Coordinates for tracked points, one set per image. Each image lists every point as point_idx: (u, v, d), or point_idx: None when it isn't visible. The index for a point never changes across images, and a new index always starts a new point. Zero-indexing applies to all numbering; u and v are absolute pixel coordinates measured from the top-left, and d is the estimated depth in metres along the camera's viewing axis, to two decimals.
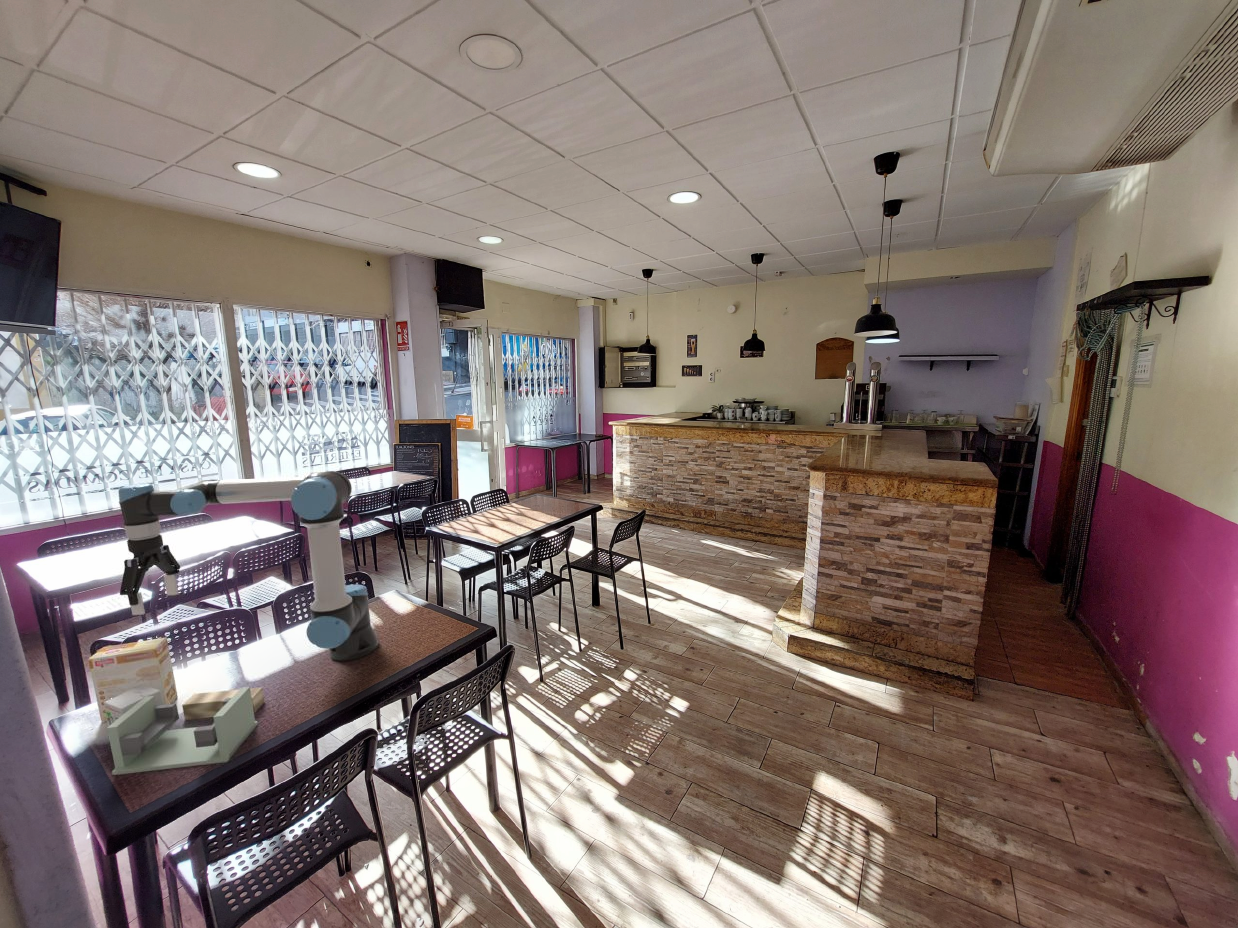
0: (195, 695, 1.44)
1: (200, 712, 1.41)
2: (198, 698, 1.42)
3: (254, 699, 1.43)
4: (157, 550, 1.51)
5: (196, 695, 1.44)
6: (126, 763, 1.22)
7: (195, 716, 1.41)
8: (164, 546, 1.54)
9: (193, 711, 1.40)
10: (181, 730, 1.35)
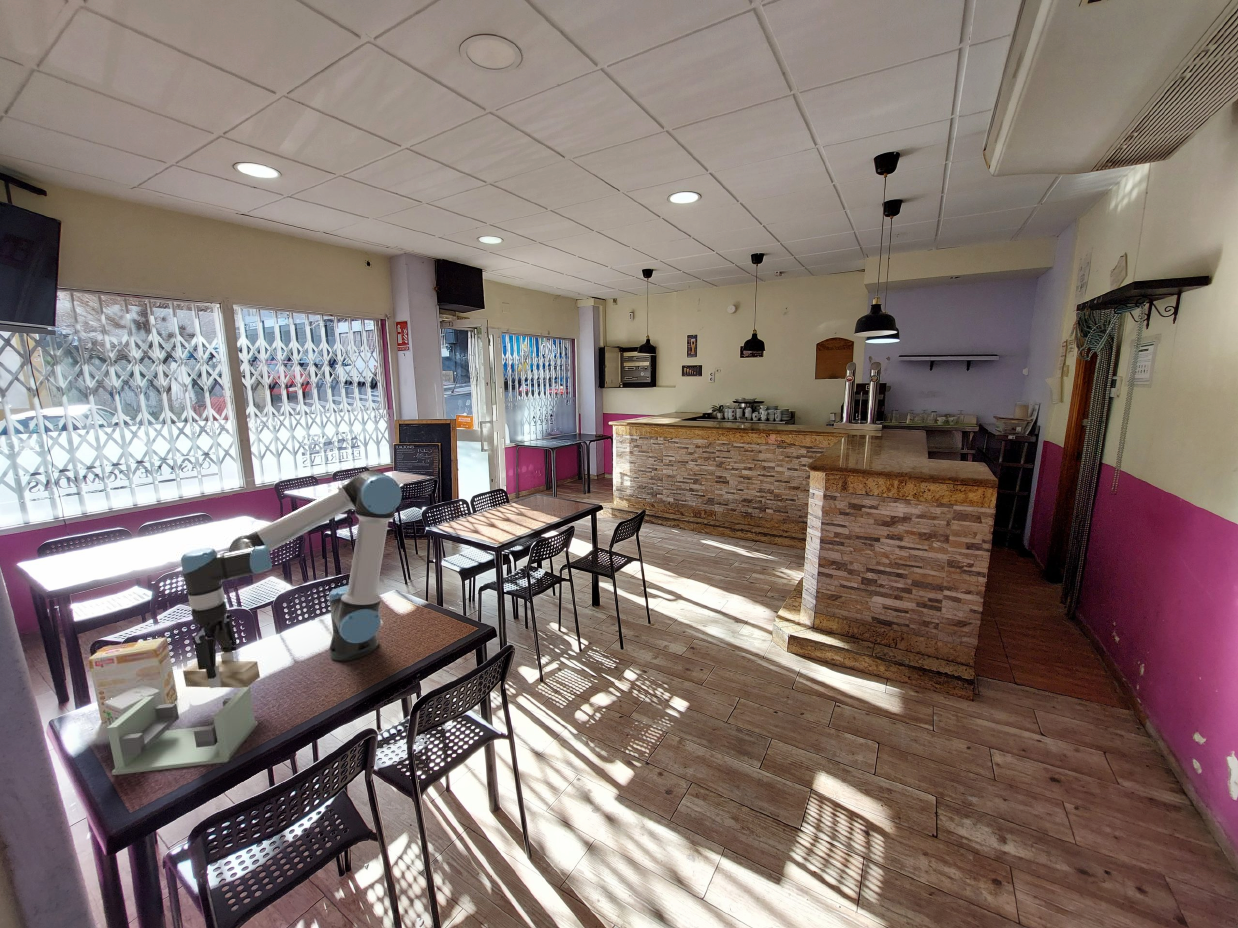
0: None
1: (198, 679, 1.40)
2: None
3: (245, 673, 1.40)
4: None
5: None
6: (126, 763, 1.22)
7: (194, 683, 1.41)
8: (228, 615, 1.45)
9: (192, 678, 1.41)
10: (181, 730, 1.35)
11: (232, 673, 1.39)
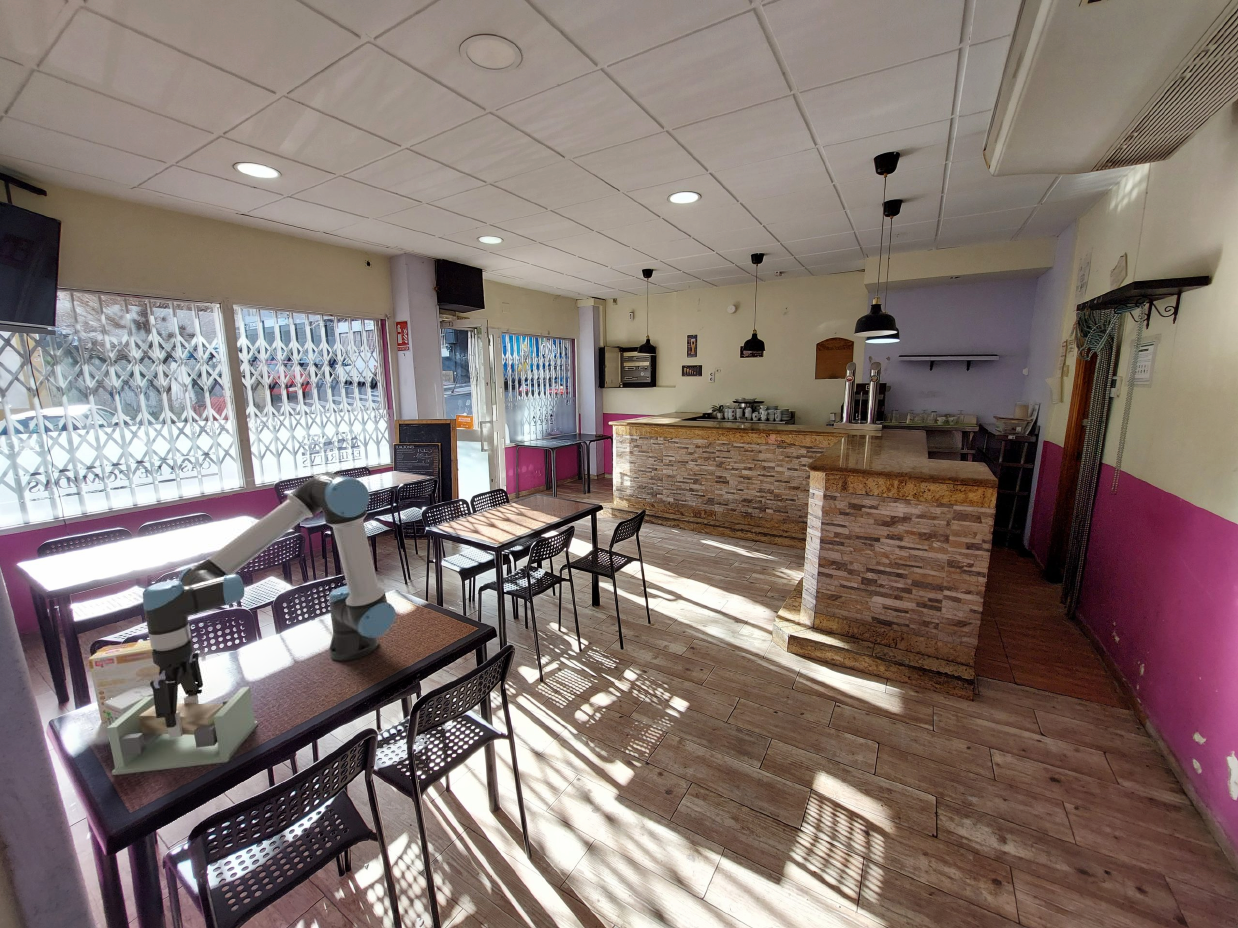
0: None
1: (156, 725, 1.26)
2: None
3: (209, 719, 1.25)
4: None
5: None
6: (126, 763, 1.22)
7: (152, 730, 1.26)
8: (194, 654, 1.31)
9: (150, 724, 1.26)
10: None
11: (194, 719, 1.25)
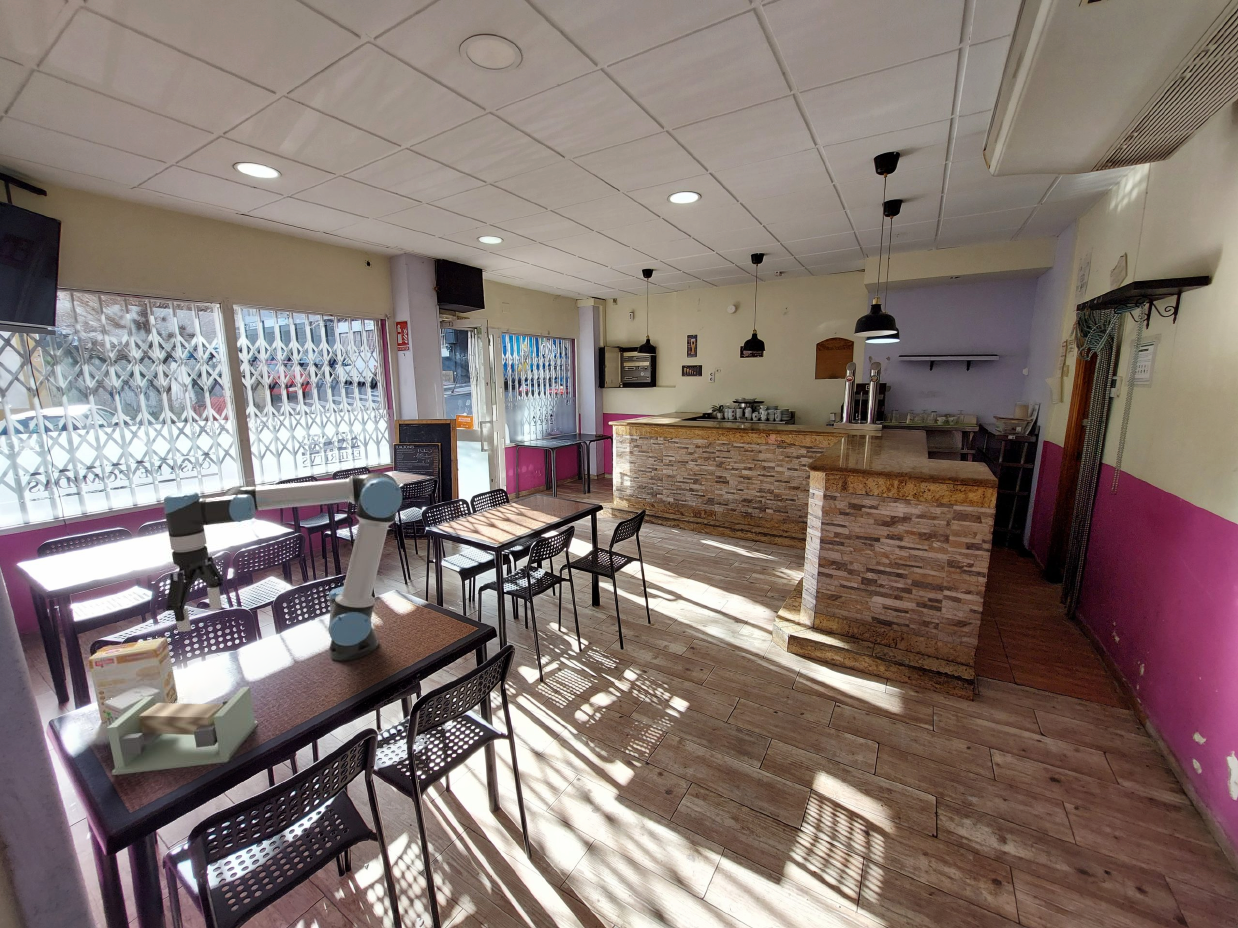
0: (157, 705, 1.30)
1: (156, 725, 1.26)
2: (157, 709, 1.28)
3: (209, 719, 1.25)
4: (202, 562, 1.42)
5: (158, 705, 1.29)
6: (126, 763, 1.22)
7: (152, 730, 1.26)
8: (208, 558, 1.46)
9: (150, 724, 1.26)
10: None
11: (194, 719, 1.25)
